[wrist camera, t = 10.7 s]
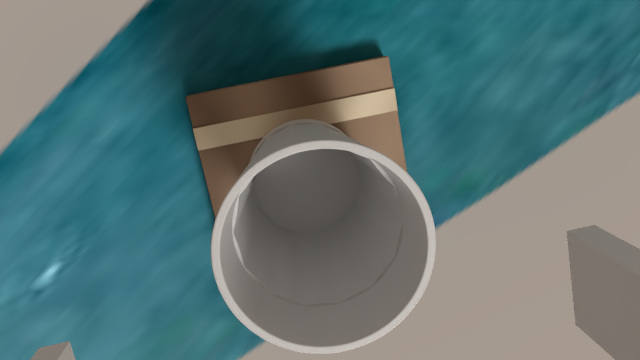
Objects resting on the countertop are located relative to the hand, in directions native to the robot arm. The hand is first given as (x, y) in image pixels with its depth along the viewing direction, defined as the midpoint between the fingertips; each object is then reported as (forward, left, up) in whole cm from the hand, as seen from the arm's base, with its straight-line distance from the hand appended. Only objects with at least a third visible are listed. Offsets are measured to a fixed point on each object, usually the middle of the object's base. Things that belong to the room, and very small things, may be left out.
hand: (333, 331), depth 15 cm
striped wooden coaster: (0, 0, -19) cm, 19 cm away
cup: (0, 0, -18) cm, 18 cm away
